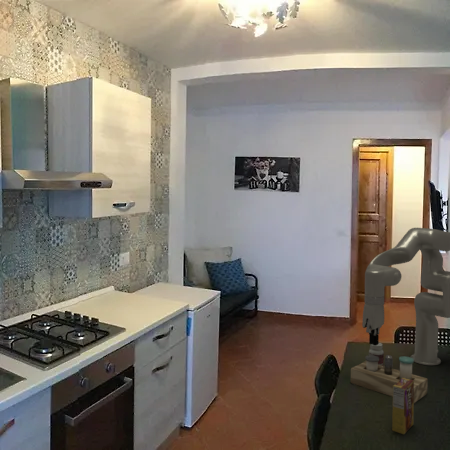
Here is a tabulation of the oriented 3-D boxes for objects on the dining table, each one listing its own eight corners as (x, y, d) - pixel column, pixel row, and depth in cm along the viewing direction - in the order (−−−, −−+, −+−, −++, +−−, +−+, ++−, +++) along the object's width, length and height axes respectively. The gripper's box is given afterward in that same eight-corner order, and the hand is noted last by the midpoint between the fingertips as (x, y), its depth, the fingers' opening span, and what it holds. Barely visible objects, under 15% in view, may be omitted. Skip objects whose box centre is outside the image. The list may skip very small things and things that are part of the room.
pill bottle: (386, 370, 209) (387, 344, 208) (376, 372, 205) (377, 347, 204) (374, 365, 214) (375, 340, 213) (365, 368, 210) (366, 343, 210)
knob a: (369, 373, 198) (369, 354, 198) (380, 376, 195) (381, 357, 194) (362, 376, 195) (363, 357, 194) (374, 380, 191) (375, 360, 190)
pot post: (386, 371, 191) (387, 354, 191) (393, 373, 189) (394, 356, 189) (382, 373, 189) (383, 356, 189) (390, 375, 187) (390, 358, 187)
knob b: (402, 375, 188) (402, 355, 187) (415, 379, 184) (415, 358, 184) (395, 378, 184) (396, 358, 184) (409, 382, 181) (409, 362, 180)
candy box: (400, 420, 164) (402, 377, 162) (413, 424, 161) (415, 380, 160) (390, 430, 157) (392, 385, 156) (404, 435, 154) (405, 389, 153)
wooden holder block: (365, 374, 203) (365, 360, 203) (426, 393, 185) (427, 378, 184) (350, 382, 195) (351, 368, 194) (413, 403, 176) (414, 387, 176)
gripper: (374, 294, 200) (374, 337, 202) (356, 301, 189) (356, 346, 191) (391, 297, 195) (391, 341, 197) (373, 305, 184) (373, 351, 186)
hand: (373, 344), depth 194 cm, fingers closed
